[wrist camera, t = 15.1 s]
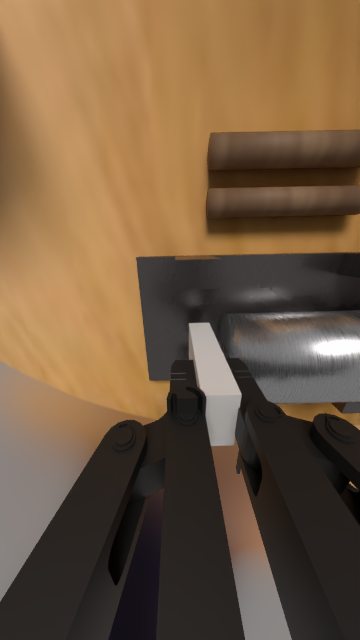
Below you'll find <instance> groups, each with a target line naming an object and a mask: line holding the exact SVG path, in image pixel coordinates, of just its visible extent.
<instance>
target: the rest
mask: <svg viewBox="0 0 360 640" xmlns="http://www.w3.org/2000/svg"><path fill="white" fill-rule="evenodd" d="M331 167H360V130H324V131H273V132H221V133H211V134H210V138H209V146H208V170H232V169H281V168H331ZM359 213H360V185H345V186H296V187H247V188H209V189H208V192H207V200H206V216H207V218H222V217H269V216H317V215H356V214H359Z"/></svg>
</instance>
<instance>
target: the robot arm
mask: <svg viewBox="0 0 360 640" xmlns="http://www.w3.org/2000/svg"><path fill="white" fill-rule="evenodd" d="M235 437H236V440H237V443H238V446H239V453H238V459H237V465H236V470H237V474H238V473H239V474H240V469H242V473H243V476H244V480H245V483H246V486H247V490H248V493H249V496H250V500H251V503H252V507H253V510H254V513H255V517H256V520H257V523H258V527H259V530H260V534H261V537H262V540H263V544H264V547H265V551H266V554H267V557H268V561H269V564H270V567H271V571H272V574H273V578H274V581H275V584H276V587H277V591H278V594H279V598H280V601H281V604H282V608H283V611H284V614H285V618H286V621H287V625H288V628H289V631H290V635H291V638H292V640H360V430H359V429H357V428H356V427H355V426H354V425H352V424H350V423H349V422H347V421H346V420H344V419H342V418H340V417H337V416H335V415H331V414H326V413H325V414H318V415H317V416H315V417H314V420H313V422H310V421H306V420H302V419H298V418H293V417H290V416H287V415H286V414H285V413H284V412H283V411H282V410H281V408H280V407H278V406H277V405H275V404H274V403H272V402H270V401H267V399H266V397H265V396H264V394H263V393H262V391H261V389H260V388H259V386H258V384H257V383H256V381H255V379H254V378H253V377H252V374H251V373H250V372H249V369H248V368H247V366H246V364H245V363H244V362H242V361H241V360H240V359H239V358H225V357H224V354H223V352H222V350H221V348H220V346H219V343H218V341H217V339H216V337H215V334H214V332H213V330H212V328H211V326H210V323H189V360H175V361H174V362H173V364H172V365H171V380H170V392H169V393H168V396H167V412H166V413H165V415H164V416H163V417H161V418H160V419H159V420H157V421H155V422H152V423H150V424H147V425H144V426H142V424H141V423H139V422H137V421H135V420H125V421H122V422H119V423H117V424H116V425H115V426H113V427H112V428H111V429H110V430H109V431H108V432H107V433H106V435H105V436H104V438H103V439H102V441H101V443H100V444H99V446H98V447H97V449H96V451H95V452H94V454H93V455H92V457H91V458H90V460H89V462H88V463H87V465H86V466H85V468H84V470H83V471H82V473H81V474H80V476H79V477H78V479H77V481H76V482H75V484H74V486H73V487H72V489H71V490H70V492H69V493H68V495H67V497H66V498H65V500H64V501H63V503H62V505H61V506H60V508H59V510H58V511H57V512H56V514H55V516H54V517H53V519H52V520H51V522H50V524H49V525H48V527H47V529H46V530H45V532H44V533H43V535H42V536H41V538H40V540H39V541H38V543H37V544H36V546H35V548H34V549H33V551H32V552H31V554H30V555H29V557H28V559H27V560H26V562H25V564H24V565H23V567H22V568H21V570H20V571H19V573H18V575H17V576H16V578H15V579H14V581H13V583H12V584H11V586H10V587H9V589H8V590H7V592H6V594H5V595H4V597H3V598H2V600H1V602H0V640H108V638H109V634H110V631H111V627H112V624H113V620H114V617H115V614H116V610H117V607H118V603H119V600H120V597H121V593H122V589H123V586H124V583H125V580H126V576H127V573H128V569H129V566H130V562H131V559H132V555H133V552H134V549H135V545H136V542H137V538H138V535H139V531H140V528H141V525H142V521H143V518H144V515H145V511H146V508H147V504H148V501H149V497H150V494H152V493H154V492H156V491H158V490H160V489H163V488H164V500H163V501H164V502H163V519H162V540H161V558H160V578H159V579H160V580H159V599H158V618H157V619H158V620H157V637H156V639H157V640H245V637H244V631H243V625H242V620H241V614H240V608H239V603H238V597H237V591H236V586H235V580H234V574H233V569H232V563H231V557H230V552H229V546H228V540H227V535H226V529H225V524H224V518H223V512H222V507H221V501H220V495H219V489H218V484H217V478H216V473H215V467H214V461H213V455H212V450H211V446H227V445H228V446H229V445H234V442H235ZM350 481H351V482H352V483H353V484H354V486H355V487H356V488H357V489H356V488H354V487H353V486H351V484H349V482H350Z"/></svg>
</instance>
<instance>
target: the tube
mask: <svg viewBox="0 0 360 640" xmlns="http://www.w3.org/2000/svg"><path fill="white" fill-rule="evenodd" d="M218 343H219V346H220V348H221V350H222V352H223V354H224V357H225V358H239V359H240V360H241V361H242V362H244V363H245V364H246V366H247V368H248V369H249V372H250V373H251V374H252V377H253V378H254V379H255V381H256V383H257V384H258V386H259V388H260V389H261V391H262V393H263V394H264V396H265V397H266V399H267V401H270V402H272V403H274V404H292V403H331V402H360V310H353V311H314V312H274V313H235V314H225V315H224V316H223V317H222V319H221V322H220V327H219V334H218Z"/></svg>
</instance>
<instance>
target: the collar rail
mask: <svg viewBox="0 0 360 640" xmlns="http://www.w3.org/2000/svg"><path fill="white" fill-rule="evenodd" d="M136 260H137V269H138V278H139V287H140V297H141V306H142V315H143V324H144V334H145V343H146V352H147V361H148V371H149V380H171V365H172V364H173V362H174V361H175V360H189V323H210V326H211V328H212V330H213V332H214V334H215V337H216V339H217V341H218V334H219V327H220V322H221V319H222V317H223V316H224V315H225V314H235V313H274V312H314V311H353V310H360V252H337V253H291V254H246V255H200V256H155V257H136ZM331 403H332V404H333V405H334V406H335V407H336V408H337V409H338V410H339V411H340V412H341V413H360V402H331Z"/></svg>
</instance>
